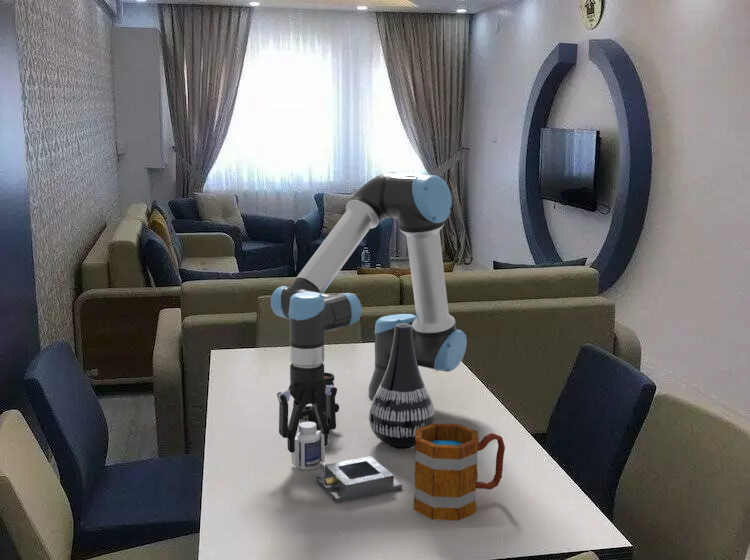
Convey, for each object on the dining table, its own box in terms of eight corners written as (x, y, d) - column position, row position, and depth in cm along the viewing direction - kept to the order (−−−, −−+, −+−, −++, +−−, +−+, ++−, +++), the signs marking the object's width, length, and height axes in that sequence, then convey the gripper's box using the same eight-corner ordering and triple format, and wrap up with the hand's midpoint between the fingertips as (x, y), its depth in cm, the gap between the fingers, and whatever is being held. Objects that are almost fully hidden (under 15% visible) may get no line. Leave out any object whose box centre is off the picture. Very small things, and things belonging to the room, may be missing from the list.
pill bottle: (323, 462, 181) (323, 422, 179) (314, 472, 176) (314, 430, 174) (302, 459, 183) (301, 418, 181) (292, 468, 178) (291, 427, 176)
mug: (426, 525, 153) (428, 452, 150) (401, 495, 165) (402, 426, 163) (517, 511, 159) (520, 440, 156) (487, 482, 172) (489, 416, 169)
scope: (299, 371, 203) (338, 370, 204) (299, 422, 205) (338, 421, 206) (298, 381, 195) (339, 380, 196) (299, 434, 197) (339, 433, 198)
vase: (388, 462, 182) (389, 337, 176) (357, 438, 195) (358, 321, 190) (447, 449, 189) (450, 329, 183) (413, 427, 203) (415, 314, 197)
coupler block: (378, 469, 178) (378, 454, 177) (401, 489, 168) (402, 473, 168) (316, 481, 171) (316, 466, 171) (336, 503, 162) (336, 487, 161)
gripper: (338, 353, 182) (338, 449, 187) (261, 363, 174) (263, 463, 179) (352, 362, 176) (352, 461, 180) (272, 373, 168) (274, 476, 172)
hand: (308, 462), depth 179 cm, fingers closed on pill bottle, 5 cm apart
